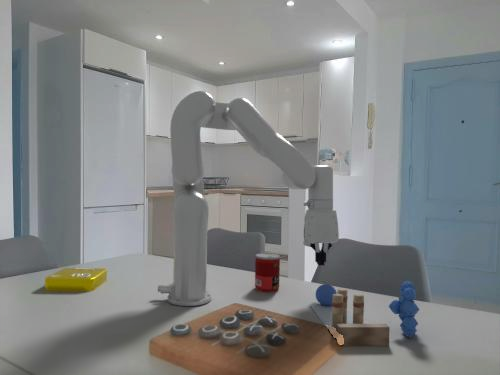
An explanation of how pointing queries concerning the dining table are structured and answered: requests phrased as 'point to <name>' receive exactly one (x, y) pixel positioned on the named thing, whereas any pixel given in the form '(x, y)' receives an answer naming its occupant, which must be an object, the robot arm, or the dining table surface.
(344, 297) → the pin front
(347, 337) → the back wall
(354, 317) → the pin right
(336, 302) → the pin left
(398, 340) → the dining table surface
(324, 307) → the lane mark
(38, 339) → the dining table surface
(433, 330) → the dining table surface
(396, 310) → the grapes
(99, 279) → the element tile
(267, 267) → the canned food
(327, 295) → the ball
